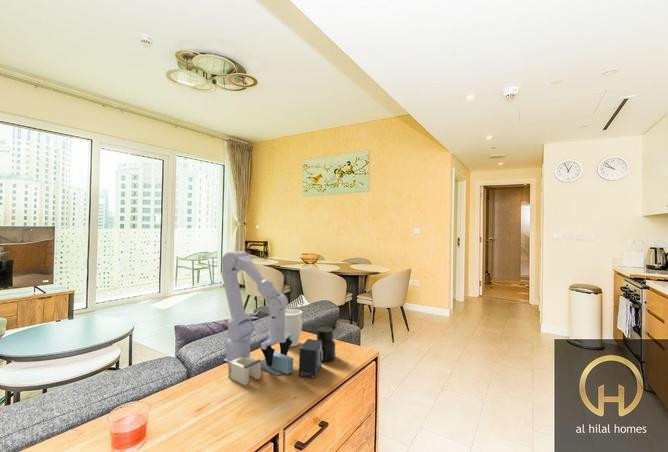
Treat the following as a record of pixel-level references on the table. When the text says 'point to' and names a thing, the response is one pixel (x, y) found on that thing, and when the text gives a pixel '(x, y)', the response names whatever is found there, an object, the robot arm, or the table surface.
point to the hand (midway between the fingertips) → (276, 362)
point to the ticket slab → (282, 363)
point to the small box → (310, 358)
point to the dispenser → (244, 369)
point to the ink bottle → (326, 343)
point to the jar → (293, 324)
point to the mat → (268, 369)
